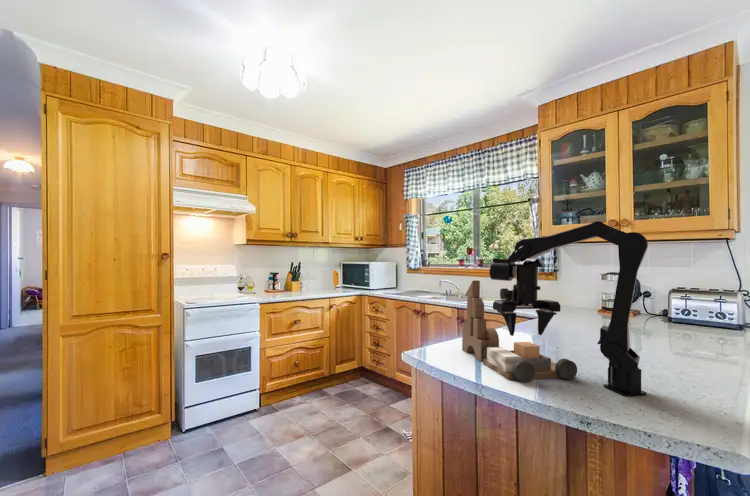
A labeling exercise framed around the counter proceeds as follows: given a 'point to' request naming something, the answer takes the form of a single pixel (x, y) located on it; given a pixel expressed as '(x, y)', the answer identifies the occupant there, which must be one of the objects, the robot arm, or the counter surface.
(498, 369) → the chassis
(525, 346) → the orange block
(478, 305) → the wooden toy
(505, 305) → the robot arm
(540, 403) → the counter surface
